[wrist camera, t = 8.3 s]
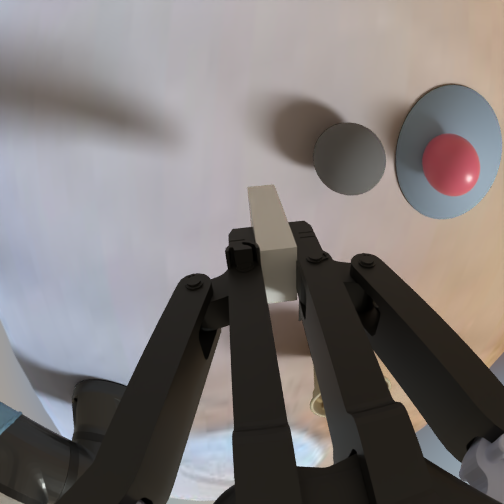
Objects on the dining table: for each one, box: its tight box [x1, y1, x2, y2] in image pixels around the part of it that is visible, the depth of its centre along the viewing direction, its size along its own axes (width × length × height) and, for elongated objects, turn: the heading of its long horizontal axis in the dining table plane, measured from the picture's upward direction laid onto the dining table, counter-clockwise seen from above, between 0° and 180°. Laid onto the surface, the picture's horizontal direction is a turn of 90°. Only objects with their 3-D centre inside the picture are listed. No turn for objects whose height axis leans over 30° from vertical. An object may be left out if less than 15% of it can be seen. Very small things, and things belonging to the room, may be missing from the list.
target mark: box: [396, 85, 502, 219], centre depth 24 cm, size 14×14×1 cm
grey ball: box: [313, 123, 386, 195], centre depth 22 cm, size 6×6×6 cm
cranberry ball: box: [422, 133, 480, 196], centre depth 22 cm, size 6×6×6 cm
